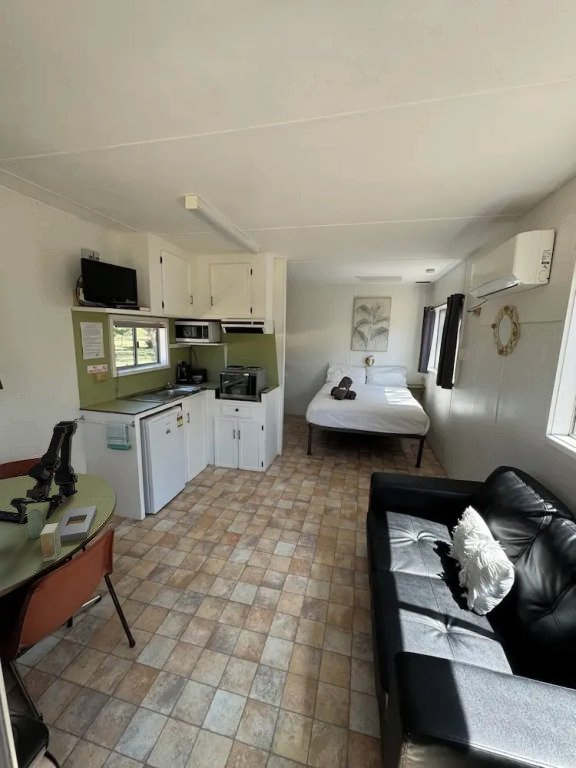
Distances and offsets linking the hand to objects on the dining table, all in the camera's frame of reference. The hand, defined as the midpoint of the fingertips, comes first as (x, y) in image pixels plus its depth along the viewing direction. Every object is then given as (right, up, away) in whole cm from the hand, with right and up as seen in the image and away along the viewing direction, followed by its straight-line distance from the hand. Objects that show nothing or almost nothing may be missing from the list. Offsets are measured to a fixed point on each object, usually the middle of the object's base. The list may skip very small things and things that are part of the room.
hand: (33, 521), depth 128 cm
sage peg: (-1, -7, +2) cm, 7 cm away
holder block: (+12, -6, +9) cm, 16 cm away
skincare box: (+14, -10, -8) cm, 19 cm away
